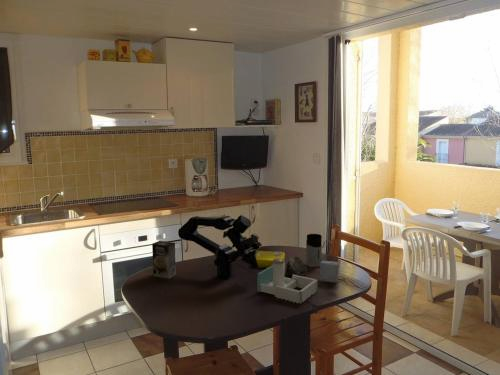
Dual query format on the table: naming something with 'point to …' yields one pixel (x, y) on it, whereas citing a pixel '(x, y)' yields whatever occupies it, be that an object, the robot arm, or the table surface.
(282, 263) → the salt jar
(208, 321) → the table surface
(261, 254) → the yellow box
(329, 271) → the medicine box
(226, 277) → the robot arm
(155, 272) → the coffee box
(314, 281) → the dock housing
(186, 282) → the table surface
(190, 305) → the table surface
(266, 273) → the white and teal drawer
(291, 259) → the fossil
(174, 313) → the table surface
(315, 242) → the glass holder
